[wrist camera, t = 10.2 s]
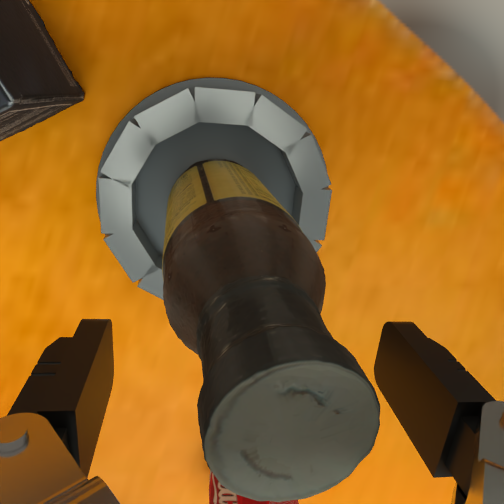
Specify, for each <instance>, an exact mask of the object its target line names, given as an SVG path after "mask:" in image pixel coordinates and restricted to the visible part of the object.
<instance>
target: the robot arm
mask: <svg viewBox="0 0 504 504" xmlns="http://www.w3.org/2000/svg"><path fill="white" fill-rule="evenodd" d="M374 375H375V380H376V383H377V385H378V387H379V389H380V390H381V392H382V394H383V395H384V397H385V399H386V400H387V402H388V404H389V405H390V407H391V408H392V410H393V412H394V413H395V415H396V417H397V418H398V420H399V422H400V423H401V425H402V426H403V428H404V430H405V431H406V433H407V435H408V436H409V438H410V440H411V441H412V443H413V444H414V446H415V448H416V449H417V451H418V453H419V454H420V456H421V458H422V459H423V461H424V462H425V464H426V466H427V467H428V469H429V471H430V472H431V474H432V476H433V477H454V479H455V480H456V484H455V487H454V490H453V494H452V501H451V504H504V402H502V401H496V400H495V399H494V398H493V397H492V396H491V395H490V394H489V393H488V392H487V391H486V390H485V389H484V388H483V387H482V386H481V385H480V384H479V382H478V381H477V380H476V379H475V378H474V377H473V376H472V375H471V374H470V373H469V372H468V371H465V368H464V367H463V366H462V365H461V364H460V363H459V362H457V361H456V358H455V357H454V356H453V355H452V354H451V353H450V352H449V351H448V350H447V349H446V348H445V347H443V346H441V345H440V344H438V343H437V342H435V341H434V340H432V339H430V338H427V337H426V336H425V335H424V333H423V332H422V331H421V330H420V329H419V328H418V327H417V326H416V325H415V324H414V323H413V322H386V323H385V324H384V326H383V329H382V333H381V338H380V342H379V347H378V351H377V355H376V360H375V365H374ZM113 376H114V358H113V336H112V322H111V320H110V319H82V320H81V322H80V324H79V326H78V328H77V330H76V332H75V334H74V336H73V337H60V338H58V339H57V340H56V341H55V342H53V343H52V344H51V345H49V346H48V347H47V348H45V350H44V352H43V353H42V355H41V357H40V359H39V360H38V364H37V365H36V366H35V367H34V369H33V371H32V373H31V376H29V378H28V380H27V381H26V383H25V385H24V387H23V388H22V390H21V392H20V394H19V395H18V397H17V399H16V401H15V402H14V404H13V406H12V408H11V409H10V411H9V413H8V415H7V416H5V417H2V418H0V504H120V503H119V501H118V500H117V499H116V497H115V496H114V494H113V493H112V491H111V490H110V489H109V487H108V486H107V485H106V483H105V482H104V481H103V480H102V479H101V478H100V477H98V476H95V477H94V478H92V479H90V480H88V479H87V477H88V474H89V470H90V466H91V463H92V459H93V455H94V452H95V448H96V444H97V441H98V437H99V433H100V430H101V426H102V423H103V419H104V415H105V412H106V408H107V404H108V401H109V397H110V393H111V390H112V385H113Z"/></svg>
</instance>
